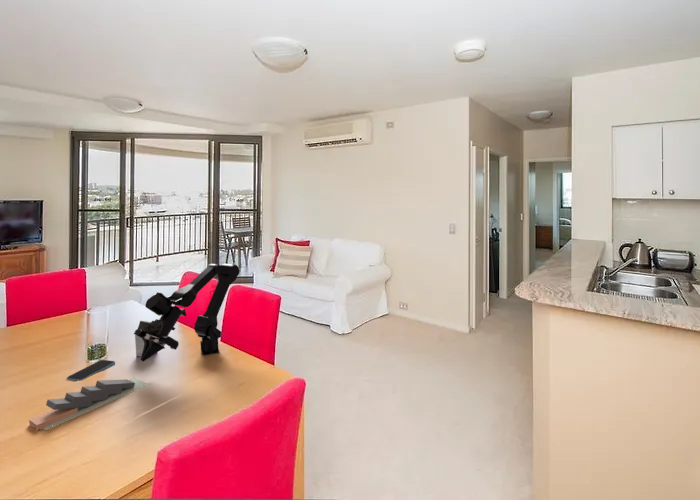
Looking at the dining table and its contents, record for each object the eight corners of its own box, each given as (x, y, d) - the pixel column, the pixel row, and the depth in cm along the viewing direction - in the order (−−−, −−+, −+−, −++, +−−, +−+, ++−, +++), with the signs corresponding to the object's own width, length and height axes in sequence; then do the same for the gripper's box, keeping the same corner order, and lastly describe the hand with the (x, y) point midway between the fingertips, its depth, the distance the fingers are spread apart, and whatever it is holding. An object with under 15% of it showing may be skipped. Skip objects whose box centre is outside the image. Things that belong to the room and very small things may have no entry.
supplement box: (148, 358, 151) (146, 331, 149) (135, 357, 152) (133, 330, 150) (158, 352, 156) (156, 326, 155) (146, 351, 157) (144, 325, 156)
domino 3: (100, 390, 122) (66, 392, 114) (108, 394, 120) (74, 397, 111) (98, 395, 122) (64, 398, 114) (106, 399, 120) (72, 402, 111)
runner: (134, 378, 134) (134, 377, 134) (149, 384, 130) (149, 383, 130) (31, 421, 108) (31, 420, 108) (46, 431, 104) (46, 430, 104)
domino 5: (126, 379, 130) (96, 380, 121) (135, 382, 127) (105, 384, 119) (125, 384, 130) (95, 385, 121) (133, 387, 127) (103, 389, 119)
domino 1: (69, 403, 115) (29, 419, 106) (77, 407, 112) (36, 425, 104) (69, 407, 115) (29, 425, 106) (77, 412, 112) (37, 430, 104)
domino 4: (113, 384, 126) (82, 386, 118) (122, 388, 124) (90, 390, 115) (112, 389, 126) (80, 391, 117) (120, 393, 123) (88, 395, 115)
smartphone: (64, 378, 134) (101, 359, 148) (65, 380, 134) (101, 362, 148) (81, 380, 132) (116, 361, 146) (81, 383, 132) (116, 363, 146)
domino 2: (83, 396, 118) (47, 399, 110) (92, 400, 116) (55, 404, 107) (82, 401, 118) (45, 405, 109) (90, 406, 116) (54, 409, 107)
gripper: (136, 307, 138) (108, 346, 130) (168, 315, 129) (140, 357, 121) (158, 320, 146) (133, 358, 138) (189, 329, 137) (164, 370, 129)
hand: (142, 360), depth 132 cm, fingers closed
